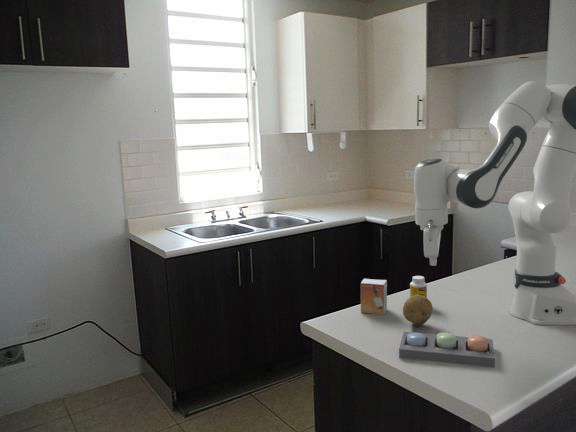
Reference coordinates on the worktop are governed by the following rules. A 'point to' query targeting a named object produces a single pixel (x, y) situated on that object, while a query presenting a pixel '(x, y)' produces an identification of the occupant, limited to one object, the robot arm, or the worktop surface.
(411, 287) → the supplement bottle
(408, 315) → the natural sponge
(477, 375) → the worktop surface
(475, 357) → the button panel
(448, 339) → the sage button
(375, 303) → the small box
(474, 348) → the terracotta button
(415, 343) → the slate blue button
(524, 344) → the worktop surface
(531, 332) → the worktop surface
